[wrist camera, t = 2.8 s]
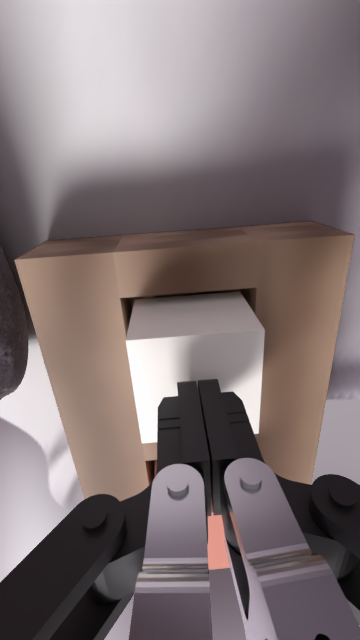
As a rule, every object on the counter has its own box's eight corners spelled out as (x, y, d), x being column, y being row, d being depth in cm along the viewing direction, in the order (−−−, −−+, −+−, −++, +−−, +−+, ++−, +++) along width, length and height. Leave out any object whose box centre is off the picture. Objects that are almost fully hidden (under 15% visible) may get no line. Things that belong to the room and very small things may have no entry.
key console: (312, 221, 17) (354, 234, 13) (282, 479, 25) (303, 530, 21) (47, 240, 16) (14, 259, 13) (108, 494, 25) (99, 549, 21)
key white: (240, 291, 15) (265, 329, 11) (238, 378, 17) (258, 433, 13) (134, 299, 15) (125, 340, 11) (146, 385, 17) (141, 443, 13)
